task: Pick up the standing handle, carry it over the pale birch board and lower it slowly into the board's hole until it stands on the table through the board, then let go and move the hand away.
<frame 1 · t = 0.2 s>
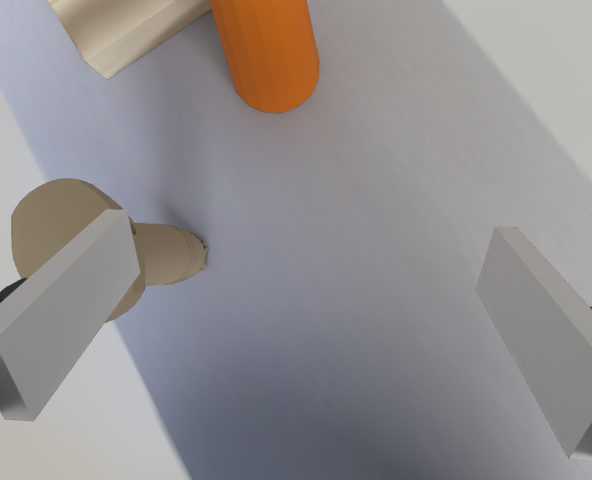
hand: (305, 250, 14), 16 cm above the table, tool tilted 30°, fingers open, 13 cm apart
handle: (191, 255, 32), on the table
spray bottle: (298, 68, 32), on the table
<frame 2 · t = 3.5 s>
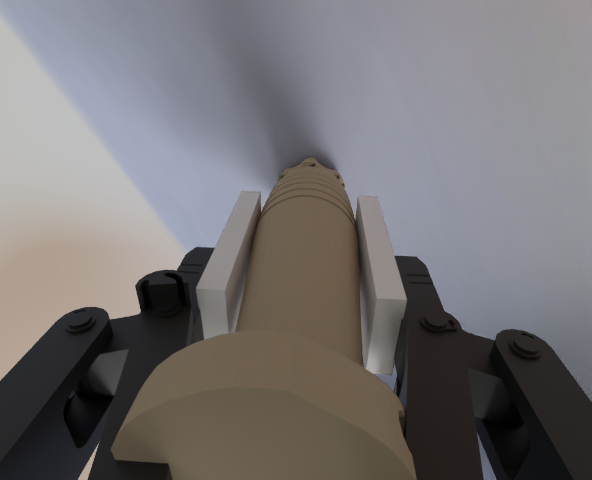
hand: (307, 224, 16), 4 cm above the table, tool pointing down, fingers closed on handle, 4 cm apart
handle: (311, 185, 20), on the table, touching gripper
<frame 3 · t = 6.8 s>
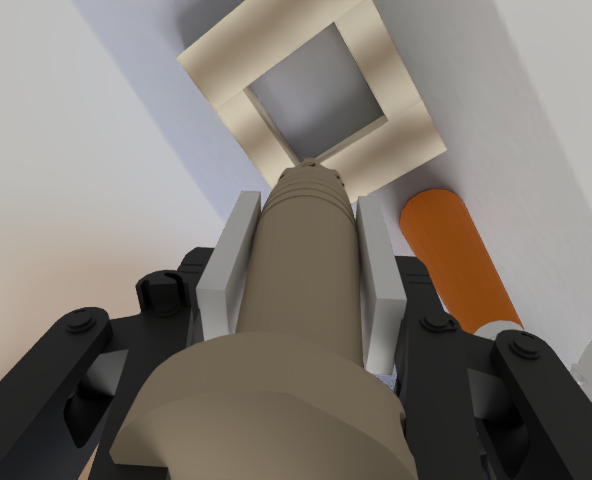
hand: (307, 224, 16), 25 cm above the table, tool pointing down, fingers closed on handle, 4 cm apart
board: (316, 99, 38), on the table
handle: (311, 185, 20), point 21 cm above the table, touching gripper
spray bottle: (449, 214, 43), on the table
when the fingers open (5 cm above the table, at t = 10.1 s): handle stays where it is, resting in board.
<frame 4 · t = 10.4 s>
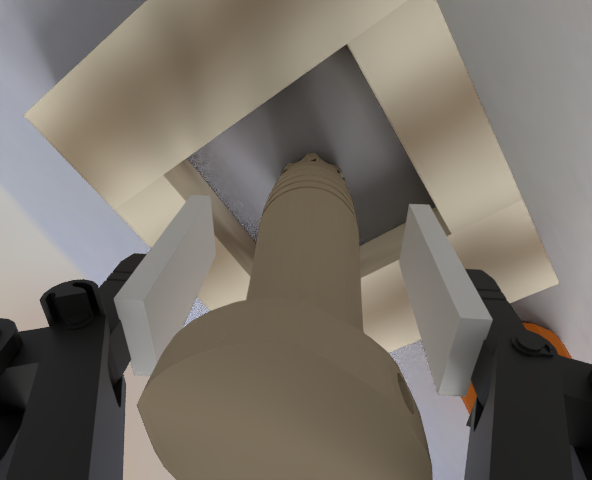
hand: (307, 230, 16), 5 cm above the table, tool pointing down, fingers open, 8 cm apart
board: (311, 180, 21), on the table
handle: (312, 180, 21), resting in board
spray bottle: (533, 356, 26), on the table
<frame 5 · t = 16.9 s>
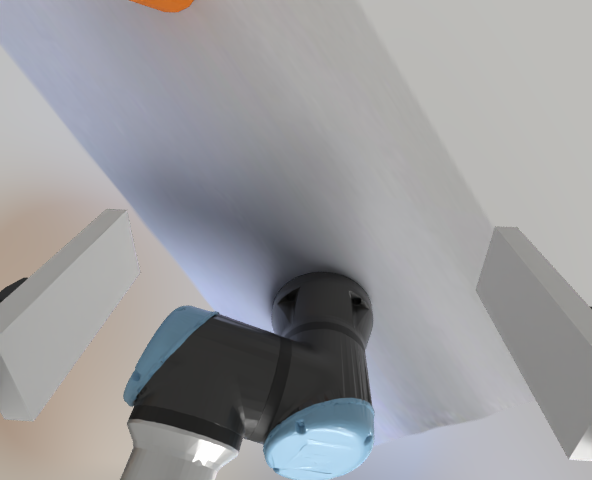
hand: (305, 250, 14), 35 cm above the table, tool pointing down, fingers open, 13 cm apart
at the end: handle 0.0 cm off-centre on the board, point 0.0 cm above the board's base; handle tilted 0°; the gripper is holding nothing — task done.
